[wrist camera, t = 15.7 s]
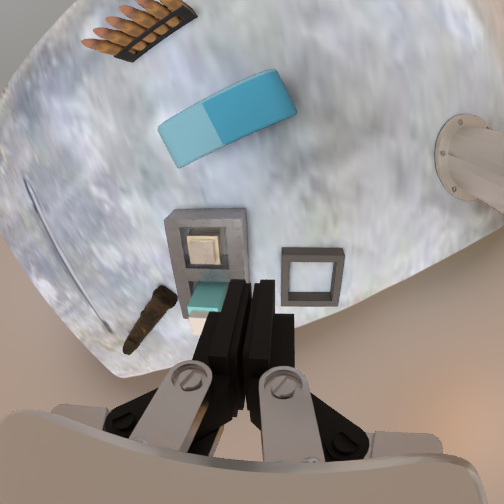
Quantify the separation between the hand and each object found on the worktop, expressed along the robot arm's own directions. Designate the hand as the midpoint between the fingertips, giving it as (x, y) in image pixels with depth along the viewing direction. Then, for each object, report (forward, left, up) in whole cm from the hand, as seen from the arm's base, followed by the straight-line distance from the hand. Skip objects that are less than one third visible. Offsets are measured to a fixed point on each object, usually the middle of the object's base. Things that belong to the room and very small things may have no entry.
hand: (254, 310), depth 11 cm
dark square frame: (-5, +15, -27) cm, 31 cm away
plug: (+9, +17, -27) cm, 33 cm away
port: (+9, +13, -27) cm, 31 cm away
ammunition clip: (+14, -20, -27) cm, 37 cm away
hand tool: (+23, +26, -28) cm, 44 cm away
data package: (+4, -7, -27) cm, 29 cm away
